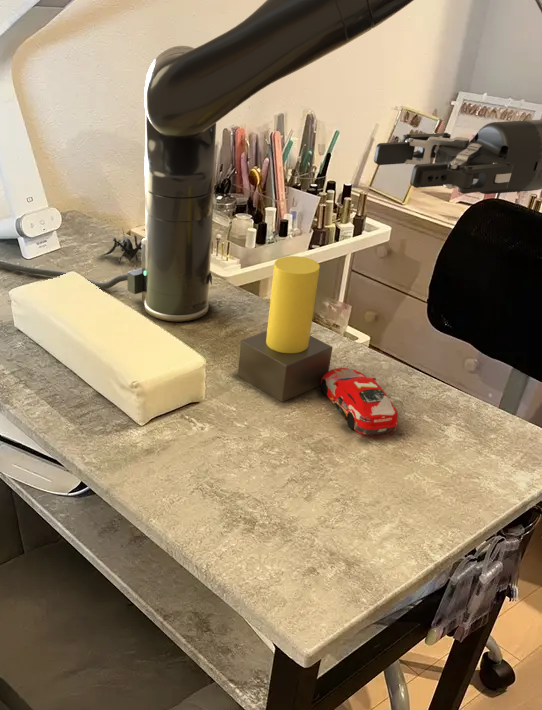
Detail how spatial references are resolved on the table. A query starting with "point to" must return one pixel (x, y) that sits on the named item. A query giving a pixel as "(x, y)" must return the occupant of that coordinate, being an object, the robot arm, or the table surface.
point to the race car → (360, 401)
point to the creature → (126, 248)
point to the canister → (292, 304)
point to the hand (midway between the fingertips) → (394, 165)
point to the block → (283, 367)
